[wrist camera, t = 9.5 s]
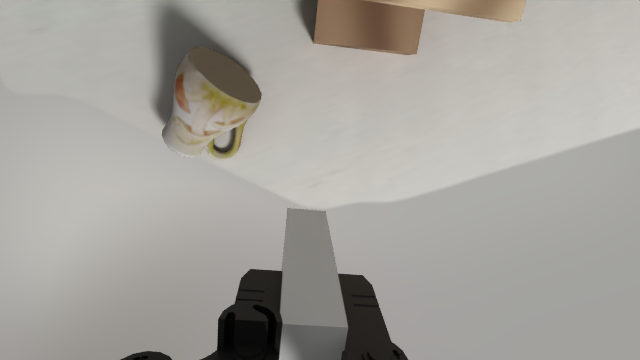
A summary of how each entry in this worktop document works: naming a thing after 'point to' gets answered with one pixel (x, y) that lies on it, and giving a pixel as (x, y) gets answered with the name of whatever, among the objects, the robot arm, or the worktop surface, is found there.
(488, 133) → the worktop surface
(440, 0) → the shelf
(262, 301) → the robot arm
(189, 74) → the mug
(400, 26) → the slab
